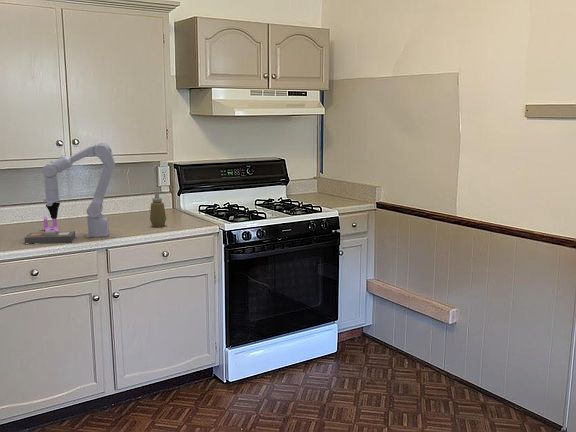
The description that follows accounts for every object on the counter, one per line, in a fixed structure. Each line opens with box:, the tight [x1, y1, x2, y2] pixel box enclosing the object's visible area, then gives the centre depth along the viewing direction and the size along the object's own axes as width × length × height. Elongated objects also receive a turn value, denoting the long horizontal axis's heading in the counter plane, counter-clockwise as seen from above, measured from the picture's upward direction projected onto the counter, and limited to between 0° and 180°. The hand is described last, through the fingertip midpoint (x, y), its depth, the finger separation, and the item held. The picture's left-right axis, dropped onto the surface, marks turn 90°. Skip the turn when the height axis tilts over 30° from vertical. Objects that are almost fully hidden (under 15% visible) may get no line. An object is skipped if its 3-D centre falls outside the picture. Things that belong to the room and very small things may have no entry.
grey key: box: [44, 230, 56, 236], centre depth 271 cm, size 4×4×3 cm
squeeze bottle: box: [149, 190, 167, 228], centre depth 302 cm, size 8×8×18 cm
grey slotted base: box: [23, 230, 77, 244], centre depth 272 cm, size 20×10×3 cm, turn 99°
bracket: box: [43, 216, 60, 232], centre depth 290 cm, size 13×6×7 cm, turn 27°
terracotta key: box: [30, 232, 43, 236], centre depth 271 cm, size 4×4×3 cm
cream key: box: [58, 231, 71, 235], centre depth 273 cm, size 4×4×3 cm
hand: (54, 218), depth 277 cm, fingers closed
